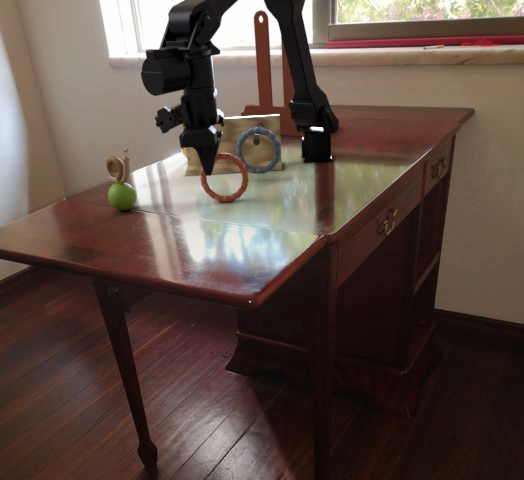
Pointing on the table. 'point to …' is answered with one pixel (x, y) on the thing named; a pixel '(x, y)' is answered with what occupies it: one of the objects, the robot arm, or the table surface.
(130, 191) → the snail figurine
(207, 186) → the terracotta ring
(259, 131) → the slate ring
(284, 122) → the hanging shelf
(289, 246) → the table surface
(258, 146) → the peg rack
